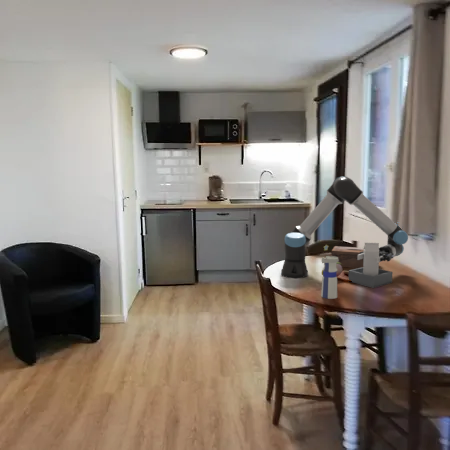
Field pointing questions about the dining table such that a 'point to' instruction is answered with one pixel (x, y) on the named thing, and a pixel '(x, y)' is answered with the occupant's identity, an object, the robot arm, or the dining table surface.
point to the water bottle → (329, 277)
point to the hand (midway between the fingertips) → (367, 258)
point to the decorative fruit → (338, 269)
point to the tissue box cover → (348, 256)
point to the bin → (370, 277)
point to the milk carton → (371, 259)
